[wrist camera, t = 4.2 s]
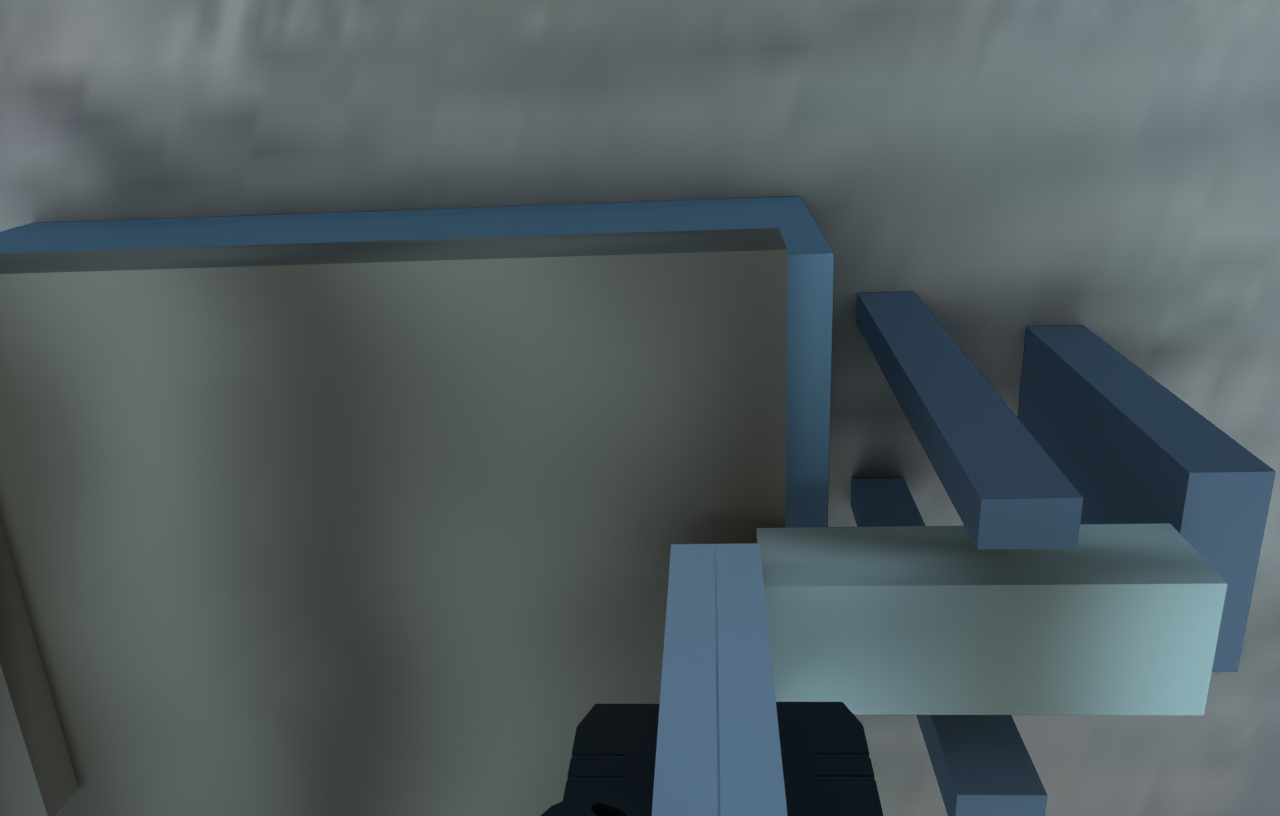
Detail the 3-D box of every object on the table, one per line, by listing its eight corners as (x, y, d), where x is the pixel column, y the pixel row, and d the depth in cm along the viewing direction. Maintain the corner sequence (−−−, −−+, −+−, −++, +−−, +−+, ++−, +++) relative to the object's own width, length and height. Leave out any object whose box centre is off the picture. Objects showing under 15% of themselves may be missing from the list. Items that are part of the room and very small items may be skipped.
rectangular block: (757, 645, 18) (763, 714, 16) (756, 527, 18) (762, 586, 16) (1151, 643, 18) (1203, 715, 16) (1169, 523, 17) (1227, 582, 15)
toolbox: (124, 589, 30) (-232, 928, 19) (31, 222, 26) (-486, 366, 15) (1053, 582, 28) (1292, 956, 17) (1098, 186, 24) (1447, 317, 13)
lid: (8, 761, 24) (-86, 858, 21) (-153, 258, 19) (-298, 295, 17) (776, 765, 22) (786, 870, 19) (778, 228, 18) (792, 262, 15)
